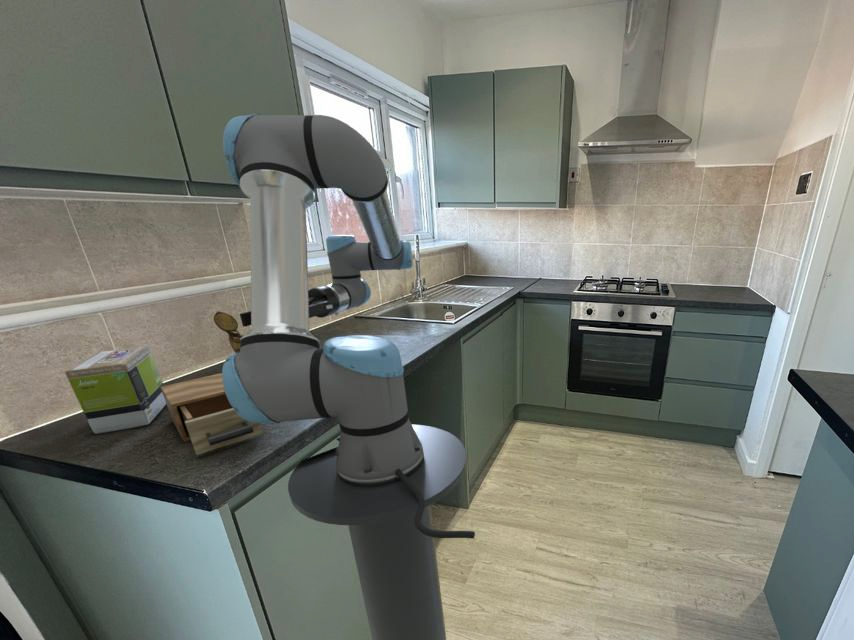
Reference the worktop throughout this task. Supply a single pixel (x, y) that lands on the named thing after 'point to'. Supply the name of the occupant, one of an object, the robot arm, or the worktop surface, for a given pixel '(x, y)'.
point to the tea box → (118, 389)
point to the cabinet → (190, 397)
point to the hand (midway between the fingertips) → (254, 320)
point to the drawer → (215, 424)
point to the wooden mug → (229, 329)
